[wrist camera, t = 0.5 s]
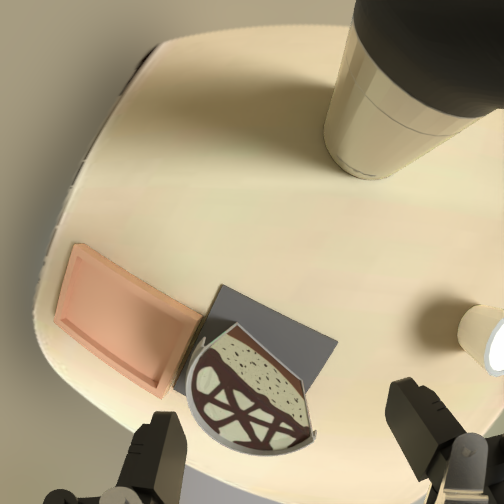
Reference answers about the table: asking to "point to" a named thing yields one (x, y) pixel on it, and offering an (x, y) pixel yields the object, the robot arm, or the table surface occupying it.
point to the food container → (247, 396)
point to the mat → (266, 335)
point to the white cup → (484, 337)
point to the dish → (124, 320)
